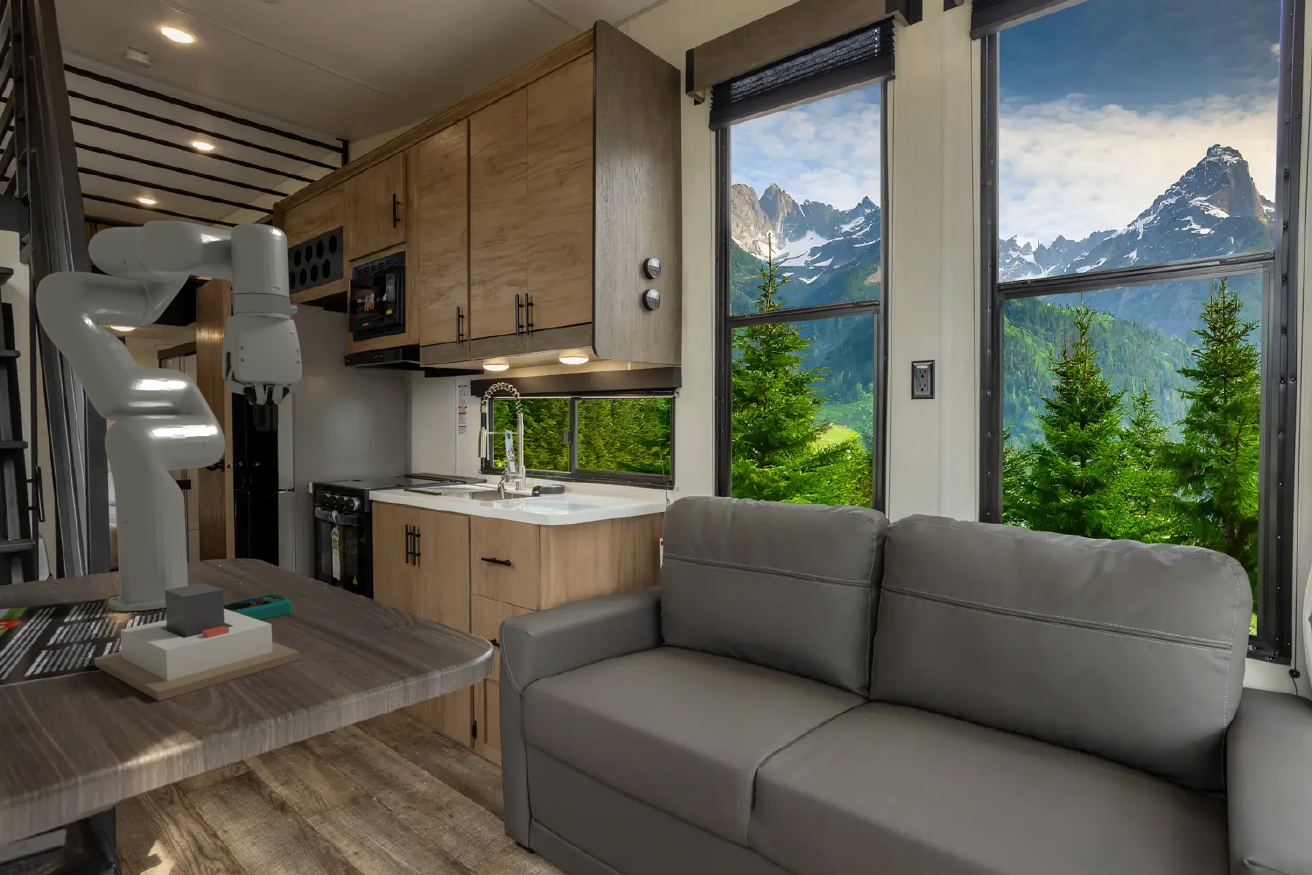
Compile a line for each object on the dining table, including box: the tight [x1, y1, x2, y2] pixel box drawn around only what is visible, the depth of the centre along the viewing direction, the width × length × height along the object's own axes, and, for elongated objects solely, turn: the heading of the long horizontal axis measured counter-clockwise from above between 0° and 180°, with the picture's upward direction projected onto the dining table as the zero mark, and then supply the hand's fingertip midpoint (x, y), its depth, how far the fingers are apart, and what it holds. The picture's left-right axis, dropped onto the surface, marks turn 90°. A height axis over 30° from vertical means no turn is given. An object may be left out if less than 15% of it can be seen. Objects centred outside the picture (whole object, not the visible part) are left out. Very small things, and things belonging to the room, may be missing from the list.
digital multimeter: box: [224, 593, 293, 621], centre depth 112 cm, size 7×15×3 cm, turn 142°
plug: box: [165, 582, 225, 638], centre depth 93 cm, size 6×4×8 cm
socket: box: [94, 609, 301, 702], centre depth 93 cm, size 20×16×5 cm
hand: (266, 430), depth 111 cm, fingers closed
